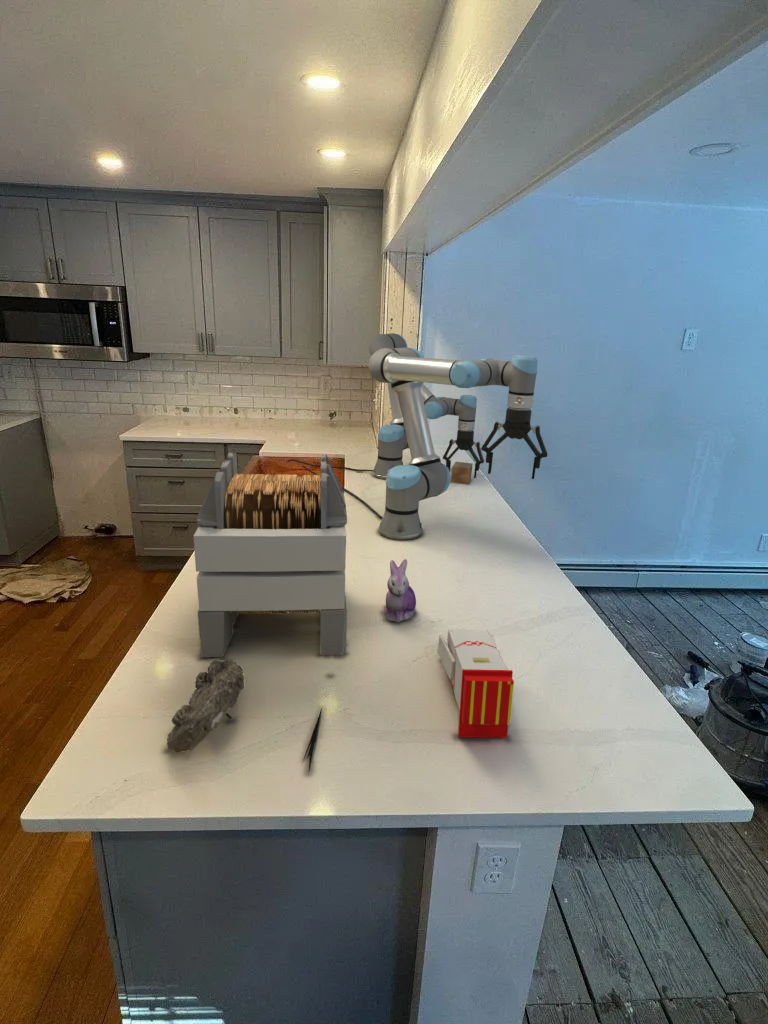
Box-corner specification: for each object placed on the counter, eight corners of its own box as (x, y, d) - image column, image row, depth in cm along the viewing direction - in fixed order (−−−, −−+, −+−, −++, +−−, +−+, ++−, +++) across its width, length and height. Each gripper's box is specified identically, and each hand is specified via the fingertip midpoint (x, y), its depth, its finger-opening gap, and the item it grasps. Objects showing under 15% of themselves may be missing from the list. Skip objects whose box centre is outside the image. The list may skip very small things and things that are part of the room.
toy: (488, 613, 130) (523, 677, 101) (484, 667, 133) (517, 744, 104) (435, 612, 130) (455, 676, 101) (432, 666, 133) (451, 743, 103)
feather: (331, 679, 122) (336, 673, 122) (307, 777, 96) (313, 769, 95) (324, 675, 122) (329, 669, 121) (298, 772, 95) (304, 764, 95)
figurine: (392, 627, 141) (395, 572, 136) (374, 608, 149) (376, 556, 144) (425, 619, 145) (429, 566, 140) (405, 601, 154) (408, 550, 149)
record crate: (222, 587, 156) (213, 443, 143) (341, 586, 160) (343, 445, 146) (198, 659, 125) (184, 483, 111) (346, 655, 129) (350, 484, 115)
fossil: (192, 660, 117) (244, 628, 112) (224, 691, 120) (276, 661, 115) (142, 746, 98) (202, 712, 93) (182, 779, 101) (242, 748, 96)
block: (451, 482, 263) (452, 466, 260) (454, 477, 271) (455, 461, 268) (468, 484, 261) (469, 468, 258) (471, 479, 269) (472, 463, 266)
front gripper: (476, 406, 172) (470, 473, 179) (561, 414, 166) (551, 483, 173) (479, 403, 179) (473, 468, 186) (561, 410, 173) (551, 476, 180)
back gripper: (438, 428, 257) (435, 474, 265) (491, 434, 251) (486, 480, 259) (441, 426, 264) (438, 470, 272) (493, 430, 258) (488, 476, 266)
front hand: (510, 475), depth 180 cm, fingers open, 13 cm apart
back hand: (461, 475), depth 265 cm, fingers open, 12 cm apart
